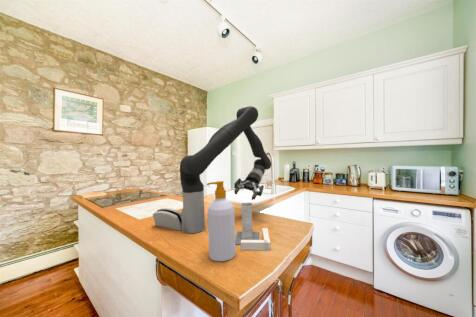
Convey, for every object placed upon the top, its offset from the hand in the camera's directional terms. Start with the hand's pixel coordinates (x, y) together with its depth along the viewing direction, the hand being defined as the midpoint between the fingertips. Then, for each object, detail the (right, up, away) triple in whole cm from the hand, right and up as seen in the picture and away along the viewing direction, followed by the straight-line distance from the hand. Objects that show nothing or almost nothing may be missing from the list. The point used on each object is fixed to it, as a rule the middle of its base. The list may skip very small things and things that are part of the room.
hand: (243, 195), depth 83 cm
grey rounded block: (-35, -15, 0) cm, 38 cm away
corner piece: (+4, -13, -18) cm, 22 cm away
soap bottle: (-8, -14, -26) cm, 31 cm away
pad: (+1, -13, -15) cm, 20 cm away
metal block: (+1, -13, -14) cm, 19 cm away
